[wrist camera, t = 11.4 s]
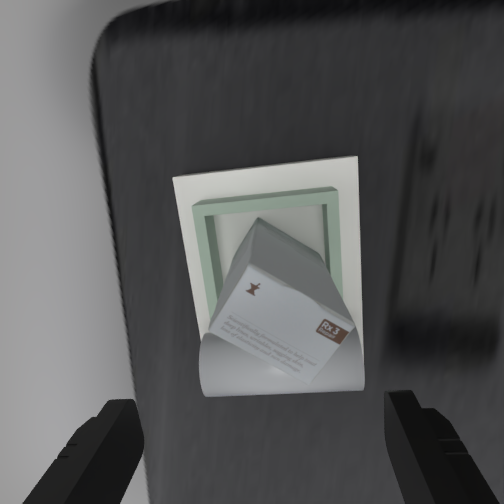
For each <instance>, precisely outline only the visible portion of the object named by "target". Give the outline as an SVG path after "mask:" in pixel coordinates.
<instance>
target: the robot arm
mask: <svg viewBox="0 0 504 504" xmlns="http://www.w3.org/2000/svg"><path fill="white" fill-rule="evenodd" d="M384 429H385V441H386V446H387V451H388V454H389V457H390V460H391V463H392V466H393V469H394V472H395V475H396V478H397V481H398V484H399V487H400V490H401V493H402V496H403V499H404V501H405V504H500V503H499V502H498V500H497V499H496V497H495V495H494V494H493V492H492V490H491V489H490V487H489V485H488V484H487V482H486V480H485V479H484V477H483V475H482V474H481V472H480V470H479V469H478V467H477V466H476V464H475V462H474V461H473V459H472V457H471V456H470V455H469V454H468V451H467V449H466V447H465V446H464V444H463V442H462V441H460V437H459V436H458V434H457V433H456V431H455V429H454V428H453V426H452V424H451V423H450V421H449V420H447V419H446V418H445V417H444V416H443V415H442V414H440V413H439V412H438V411H437V410H436V409H434V408H421V406H420V404H419V402H418V400H417V399H416V397H415V395H414V393H413V392H412V391H411V390H398V391H385V393H384ZM143 449H144V435H143V431H142V427H141V423H140V419H139V414H138V410H137V406H136V403H135V401H134V400H133V399H119V400H118V399H116V400H109V401H108V402H107V403H106V404H105V405H104V407H103V408H102V410H101V411H100V412H99V414H98V415H97V417H92V418H90V419H89V420H88V421H87V422H85V423H84V424H83V425H82V426H81V427H79V428H78V429H77V430H76V432H75V433H74V434H73V436H72V437H71V438H70V440H69V441H68V443H67V444H66V447H64V448H63V449H62V451H61V452H60V453H59V455H58V457H57V459H55V460H54V461H53V463H52V464H51V466H50V467H49V468H48V470H47V471H46V472H45V474H44V475H43V476H42V478H41V479H40V480H39V482H38V484H37V485H36V486H35V487H34V489H33V490H32V491H31V493H30V494H29V495H28V497H27V498H26V499H25V501H24V502H23V504H120V502H121V500H122V498H123V496H124V494H125V492H126V489H127V487H128V485H129V483H130V481H131V479H132V476H133V474H134V472H135V470H136V468H137V466H138V463H139V461H140V459H141V457H142V454H143Z"/></svg>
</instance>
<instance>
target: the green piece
mask: <svg viewBox="0 0 504 504" xmlns="http://www.w3.org/2000/svg"><path fill="white" fill-rule="evenodd" d="M320 204H322V211H323V228H324V245H325V262H326V268H327V270H328V271H329V273H330V275H331V277H332V279H333V282H334V284H335V286H336V288H337V289H338V291H339V293H340V295H341V297H342V299H343V284H342V262H341V240H340V218H339V196H338V190H337V189H335V188H334V187H332V186H328V187H319V188H309V189H300V190H291V191H281V192H272V193H262V194H253V195H243V196H234V197H225V198H215V199H206V200H200V201H199V202H197V203H195V204H194V205H192V206H191V207H192V213H193V219H194V225H195V231H196V237H197V243H198V249H199V255H200V262H201V268H202V274H203V280H204V286H205V292H206V298H207V304H208V310H209V317H210V321H211V318H212V316H213V314H214V311H215V307H216V304H217V302H218V299H219V296H220V293H221V291H222V288H223V278H222V271H221V264H220V257H219V251H218V244H217V237H216V230H215V223H214V217H213V215H221V214H230V213H240V212H250V211H260V210H270V209H280V208H290V207H300V206H310V205H320ZM212 334H213V333H212Z"/></svg>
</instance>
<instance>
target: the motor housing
mask: <svg viewBox="0 0 504 504" xmlns="http://www.w3.org/2000/svg"><path fill="white" fill-rule="evenodd" d="M173 183H174V189H175V195H176V201H177V206H178V212H179V218H180V223H181V229H182V235H183V241H184V246H185V252H186V258H187V264H188V269H189V275H190V281H191V286H192V292H193V298H194V304H195V309H196V315H197V321H198V326H199V332H200V338H201V346H200V354H199V374H200V382H201V387H202V391H203V393H204V395H205V396H206V397H218V396H242V395H265V394H289V393H313V392H336V391H360V390H363V389H364V383H365V374H364V355H363V320H362V286H361V252H360V218H359V183H358V156H342V157H333V158H325V159H316V160H307V161H299V162H290V163H281V164H272V165H264V166H255V167H246V168H238V169H229V170H220V171H212V172H203V173H194V174H186V175H180V176H176V177H173ZM328 186H332V187H334V188H335V189H337V190H338V196H339V218H340V240H341V262H342V284H343V301H344V303H345V305H346V307H347V309H348V311H349V314H350V315H351V317H352V319H353V321H354V323H355V327H354V328H353V330H352V331H351V332H350V333H349V334H348V336H347V337H346V338H345V340H344V341H343V342H342V343H341V345H340V346H339V347H338V349H337V350H336V351H335V353H334V354H333V355H332V356H331V358H330V359H329V360H328V362H327V363H326V364H325V366H324V367H323V368H322V370H321V371H320V372H319V374H318V375H317V376H316V378H315V379H314V380H313V382H312V383H311V384H310V385H307V384H305V383H304V382H302V381H300V380H298V379H296V378H294V377H293V376H291V375H289V374H287V373H285V372H283V371H282V370H280V369H278V368H276V367H274V366H272V365H270V364H269V363H267V362H265V361H263V360H261V359H259V358H258V357H256V356H254V355H252V354H250V353H248V352H246V351H244V350H243V349H241V348H239V347H237V346H235V345H233V344H231V343H230V342H228V341H226V340H224V339H222V338H220V337H218V336H216V335H214V334H212V333H211V332H209V330H208V328H209V324H210V317H209V310H208V304H207V298H206V292H205V286H204V280H203V274H202V268H201V262H200V255H199V249H198V243H197V237H196V231H195V225H194V219H193V213H192V207H191V206H192V205H194V204H195V203H197V202H199V201H200V200H206V199H215V198H225V197H234V196H243V195H253V194H262V193H272V192H281V191H291V190H300V189H309V188H319V187H328ZM213 217H214V223H215V230H216V237H217V244H218V251H219V257H220V264H221V271H222V278H223V285H224V282H225V279H226V277H227V274H228V271H229V268H230V266H231V263H232V259H233V256H234V255H235V253H236V251H237V249H238V248H239V246H240V244H241V243H242V241H243V239H244V238H245V236H246V235H247V233H248V231H249V230H250V228H251V227H252V225H253V223H254V222H255V220H256V219H257V218H261V219H263V220H264V221H266V222H268V223H269V224H271V225H273V226H274V227H276V228H278V229H279V230H281V231H283V232H284V233H286V234H288V235H289V236H291V237H293V238H294V239H296V240H298V241H299V242H301V243H302V244H304V245H306V246H307V247H309V248H311V249H312V250H314V251H316V252H318V253H319V254H320V256H321V257H322V259H323V262H324V264H325V266H326V262H325V245H324V228H323V211H322V204H320V205H310V206H300V207H290V208H280V209H270V210H260V211H250V212H240V213H230V214H221V215H213Z"/></svg>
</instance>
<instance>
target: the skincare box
mask: <svg viewBox="0 0 504 504" xmlns="http://www.w3.org/2000/svg"><path fill="white" fill-rule="evenodd" d="M354 327H355V323H354V321H353V319H352V317H351V315H350V314H349V311H348V309H347V307H346V305H345V303H344V301H343V299H342V297H341V295H340V293H339V291H338V289H337V288H336V286H335V284H334V282H333V279H332V277H331V275H330V273H329V271H328V270H327V268H326V266H325V264H324V262H323V259H322V257H321V256H320V254H319V253H318V252H316V251H314V250H312V249H311V248H309V247H307V246H306V245H304V244H302V243H301V242H299V241H298V240H296V239H294V238H293V237H291V236H289V235H288V234H286V233H284V232H283V231H281V230H279V229H278V228H276V227H274V226H273V225H271V224H269V223H268V222H266V221H264V220H263V219H261V218H257V219H256V220H255V222H254V223H253V225H252V227H251V228H250V230H249V231H248V233H247V235H246V236H245V238H244V239H243V241H242V243H241V244H240V246H239V248H238V249H237V251H236V253H235V255H234V256H233V259H232V263H231V266H230V268H229V271H228V274H227V277H226V279H225V282H224V285H223V288H222V291H221V293H220V296H219V299H218V302H217V304H216V307H215V311H214V314H213V316H212V318H211V321H210V324H209V328H208V330H209V332H211V333H213V334H214V335H216V336H218V337H220V338H222V339H224V340H226V341H228V342H230V343H231V344H233V345H235V346H237V347H239V348H241V349H243V350H244V351H246V352H248V353H250V354H252V355H254V356H256V357H258V358H259V359H261V360H263V361H265V362H267V363H269V364H270V365H272V366H274V367H276V368H278V369H280V370H282V371H283V372H285V373H287V374H289V375H291V376H293V377H294V378H296V379H298V380H300V381H302V382H304V383H305V384H307V385H310V384H311V383H312V382H313V380H314V379H315V378H316V376H317V375H318V374H319V372H320V371H321V370H322V368H323V367H324V366H325V364H326V363H327V362H328V360H329V359H330V358H331V356H332V355H333V354H334V353H335V351H336V350H337V349H338V347H339V346H340V345H341V343H342V342H343V341H344V340H345V338H346V337H347V336H348V334H349V333H350V332H351V331H352V330H353V328H354Z"/></svg>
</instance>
